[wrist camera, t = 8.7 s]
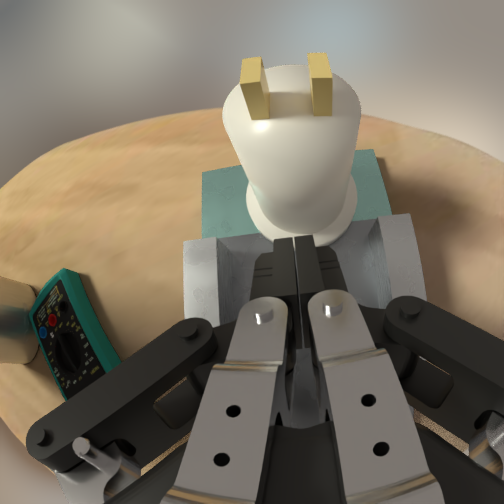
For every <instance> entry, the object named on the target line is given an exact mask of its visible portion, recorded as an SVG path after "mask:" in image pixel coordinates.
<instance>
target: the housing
mask: <svg viewBox="0 0 504 504" xmlns="http://www.w3.org/2000/svg"><path fill="white" fill-rule="evenodd" d="M351 175H352V177H353V179H354V182H355V185H356V189H357V206H356V210H355V213H354V216H353V219H352V221H351V224H350V225H349V227H348V229H347V230H346V231H345V232H344V234H343V235H342V236H341V237H340V238H339V239H337V240H336V241H335V242H333V243H332V244H330V245H328V246H329V247H330V248H332V249H333V250H334V251H335V252H336V255H337V258H338V261H339V264H340V268H341V270H342V273H343V276H344V279H345V283H346V286H347V289H348V292H349V293H350V294H351V295H352V296H353V297H354V298H355V299H356V301H357V303H358V304H360V305H363V306H366V307H370V308H380V309H386V306H387V305H388V303H389V302H390V301H391V300H392V299H394V298H397V297H400V296H415V297H418V298H421V299H423V300H425V301H427V297H426V290H425V283H424V277H423V271H422V265H421V260H420V255H419V250H418V245H417V241H416V236H415V232H414V228H413V223H412V219H411V216H410V213H407V214H397V215H392V212H391V208H390V204H389V200H388V196H387V193H386V189H385V185H384V182H383V179H382V175H381V172H380V169H379V166H378V162H377V159H376V156H375V153H374V150H373V149H368V150H355V153H354V159H353V164H352V169H351ZM248 183H249V180H248V178H247V176H246V173H245V171H244V169H243V167H242V165H238V166H233V167H227V168H222V169H217V170H212V171H207V172H202V239H197V240H190V241H184V245H183V272H184V316H185V319H188V318H193V317H198V318H203V319H206V320H208V321H209V322H210V323H211V325H212V327H216V326H220V325H223V324H227V323H229V322H232V321H234V320H236V319H238V316H239V312H240V310H241V309H242V307H243V306H244V305H245V304H246V303H248V302H249V300H250V293H251V286H252V279H253V272H254V265H255V261H256V259H257V258H258V257H259V256H260V255H261V253H268V252H273V243H272V242H270V241H269V240H267V239H266V238H265V237H264V236H263V235H262V234H261V233H260V232H259V230H258V229H257V227H256V226H255V224H254V222H253V220H252V218H251V216H250V214H249V211H248V208H247V203H246V193H247V187H248ZM294 253H295V261H296V251H294ZM296 269H297V262H296ZM297 278H298V273H297ZM298 289H299V284H298ZM299 302H300V296H299ZM300 316H301V331H302V347H303V349H296V364H295V368H296V371H295V384H294V396H293V407H292V428H298V429H304V428H308V427H312V426H315V425H318V424H320V416H319V409H318V402H317V396H316V390H315V384H314V378H313V372H312V360H311V348H305V347H304V336H303V325H302V315H301V305H300ZM420 358H422V357H421V356H420ZM422 359H423V360H426V359H424V358H422ZM408 406H409V409H410V411H411V414H412V417H413V414H414V408H413V407H412V406H410V405H409V404H408Z"/></svg>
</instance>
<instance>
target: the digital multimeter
mask: <svg viewBox="0 0 504 504" xmlns="http://www.w3.org/2000/svg"><path fill="white" fill-rule="evenodd" d="M67 294H68V295H67ZM69 299H70V300H69ZM76 315H77V316H76ZM29 317H30V320H31V323H32V326H33V329H34V331H35V334H36V337H37V339H38V342H39V344H40V347H41V349H42V352H43V354H44V356H45V359H46V361H47V363H48V365H49V368H50V370H51V372H52V374H53V376H54V379H55V381H56V383H57V385H58V387H59V389H60V391H61V393H62V395H63V397H64V399H65V401H67V400H69V399H70V398H72V397H73V396H74V395H76V394H77V393H79V392H80V391H82V390H83V389H85V388H86V387H87V386H89V385H90V384H92V383H93V382H95V381H96V380H97V379H99V378H100V377H102V376H103V375H105V374H106V373H108V372H109V371H110V370H112V369H113V368H115V367H116V366H117V365H119V364H120V363H122V362H121V360H120V359H119V357H118V355H117V354H116V352H115V350H114V348H113V347H112V345H111V343H110V342H109V340H108V338H107V336H106V335H105V333H104V331H103V329H102V327H101V325H100V323H99V321H98V319H97V317H96V315H95V313H94V311H93V308H92V306H91V304H90V302H89V300H88V298H87V295H86V293H85V290H84V288H83V285H82V282H81V280H80V277H79V274H78V273H77V272H74V271H71V270H68V269H65V268H63V269H61V270H60V271H59V272H58V273H56V274H55V275H54V276H53V277H52V278H51V279H50V280H49V281H48V282H47V283H46V284H45V286H44V287H43V288H42V290H41V291H40V293H39V295H38V296H37V298H36V300H35V302H34V304H33V306H32V308H31V310H30V313H29ZM77 317H78V318H77ZM82 328H83V329H82ZM83 330H84V331H83ZM84 332H85V333H84ZM85 334H86V335H85ZM86 336H87V337H86ZM87 338H88V339H87ZM88 340H89V341H88ZM89 342H90V343H89ZM90 344H91V345H90ZM91 346H92V347H91ZM96 355H97V356H96ZM97 357H98V358H97ZM98 359H99V360H98ZM102 366H103V367H102ZM103 368H104V369H103Z"/></svg>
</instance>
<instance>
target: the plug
mask: <svg viewBox="0 0 504 504" xmlns="http://www.w3.org/2000/svg"><path fill="white" fill-rule="evenodd" d="M360 118H361V106H360V102H359V99H358V96H357V95H356V93H355V91H354V90H353V89H352V87H351V86H350V85H349V84H347V82H346V81H344V80H343V79H342V78H340V77H339V76H337V75H335V74H333V73H331V69H330V65H329V61H328V57H327V54H326V53H308V65H281V66H275V67H271V68H267V69H264V66H263V62H262V58H261V57H254V58H246V59H243V60H242V68H241V77H240V83H239V84H238V85H237V86H236V87H235V88H234V89H233V90H232V91H231V93H230V94H229V96H228V98H227V99H226V101H225V104H224V108H223V123H224V126H225V129H226V131H227V133H228V135H229V138H230V140H231V142H232V144H233V146H234V149H235V151H236V153H237V155H238V158H239V160H240V162H241V164H242V167H243V169H244V171H245V173H246V176H247V178H248V180H249V183H248V187H247V193H246V203H247V208H248V211H249V214H250V216H251V218H252V220H253V222H254V224H255V226H256V227H257V229H258V230H259V232H260V233H261V234H262V235H263V236H264V237H265V238H266V239H267V240H269V241H270V242H272V243H274V239H279V238H287V237H292V238H293V245H294V251H295V241H294V237H295V236H304V235H312V234H313V238H314V242H315V247H318V246H327V245H330V244H332V243H333V242H335V241H336V240H337V239H339V238H340V237H341V236H342V235H343V234H344V232H345V231H346V230H347V229H348V227H349V225H350V224H351V221H352V219H353V216H354V213H355V210H356V206H357V189H356V185H355V182H354V179H353V177H352V175H351V169H352V164H353V159H354V153H355V148H356V142H357V136H358V130H359V124H360Z"/></svg>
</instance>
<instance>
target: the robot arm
mask: <svg viewBox="0 0 504 504" xmlns="http://www.w3.org/2000/svg"><path fill="white" fill-rule="evenodd" d="M294 241H295V251H296V261H295V253H294V245H293V238H292V237H287V238H279V239H274V243H273V252H268V253H261V255H260V256H259V257H258V258H257V259H256V261H255V265H254V272H253V279H252V286H251V293H250V300H249V302H248V303H246V304H245V305H244V306H243V307H242V309H241V310H240V312H239V316H238V319H236V320H234V321H232V322H229V323H227V324H223V325H220V326H216V327H212V325H211V323H210V322H209V321H208V320H206V319H203V318H198V317H193V318H188V319H185V320H182V321H180V322H178V323H177V324H175V325H174V326H172V327H171V328H170V329H168V330H167V331H165V332H164V333H163V334H161V335H160V336H158V337H157V338H156V339H154V340H153V341H151V342H150V343H149V344H147V345H146V346H144V347H143V348H142V349H140V350H139V351H137V352H136V353H134V354H133V355H132V356H130V357H129V358H127V359H126V360H125V361H123V362H122V363H120V364H119V365H117V366H116V367H115V368H113V369H112V370H110V371H109V372H108V373H106V374H105V375H103V376H102V377H100V378H99V379H97V380H96V381H95V382H93V383H92V384H90V385H89V386H87V387H86V388H85V389H83V390H82V391H80V392H79V393H77V394H76V395H74V396H73V397H72V398H70V399H69V400H67V401H66V402H64V403H63V404H61V405H60V406H58V407H57V408H55V409H54V410H53V411H51V412H50V413H48V414H47V415H45V416H44V417H42V418H41V419H39V420H38V421H36V422H35V423H34V424H33V425H32V426H31V427H30V429H29V431H28V433H27V437H26V447H27V450H28V452H29V454H30V455H31V456H32V457H34V458H35V459H37V460H38V461H39V462H41V463H42V464H44V465H46V466H47V467H49V468H50V469H51V470H52V471H53V472H54V473H55V475H56V477H57V480H58V482H59V484H60V486H61V488H62V491H63V492H64V494H65V497H66V499H67V500H68V503H69V504H504V341H502V340H501V339H499V338H497V337H495V336H493V335H491V334H489V333H487V332H486V331H484V330H482V329H480V328H478V327H476V326H474V325H472V324H470V323H468V322H466V321H464V320H462V319H461V318H459V317H457V316H455V315H453V314H451V313H449V312H447V311H445V310H443V309H441V308H439V307H437V306H435V305H433V304H431V303H429V302H427V301H425V300H423V299H421V298H418V297H415V296H400V297H397V298H394V299H392V300H391V301H390V302H389V303H388V305H387V306H386V309H380V308H370V307H366V306H363V305H360V304H358V303H357V301H356V299H355V298H354V297H353V296H352V295H351V294H350V293H349V292H348V289H347V286H346V283H345V279H344V276H343V273H342V270H341V268H340V264H339V261H338V258H337V255H336V252H335V251H334V250H333V249H332V248H330V247H329V246H328V245H327V246H318V247H315V242H314V238H313V234H312V235H304V236H295V237H294ZM296 262H297V269H296ZM297 273H298V278H297ZM298 284H299V289H298ZM299 296H300V302H299ZM35 300H36V296H35V293H34V291H33V290H32V288H31V287H30V286H29V285H27V284H25V283H21V282H18V281H14V280H11V279H7V278H4V277H1V276H0V363H12V364H26V363H29V362H30V361H32V359H33V358H34V356H35V354H36V352H37V349H38V345H39V342H38V339H37V337H36V334H35V331H34V329H33V326H32V323H31V320H30V317H29V313H30V310H31V308H32V306H33V304H34V302H35ZM300 305H301V315H302V325H303V336H304V347H305V348H311V360H312V372H313V378H314V384H315V390H316V396H317V402H318V409H319V416H320V424H318V425H315V426H312V427H308V428H304V429H298V428H292V407H293V396H294V384H295V371H296V368H295V364H296V349H303V347H302V331H301V316H300ZM420 356H421V357H422V358H424V359H426V360H427V361H429V362H431V363H432V364H434V365H436V366H437V367H439V368H441V369H442V370H444V371H446V372H447V373H449V374H450V375H451V376H450V375H448V374H446V373H445V372H443V371H441V370H440V369H438V368H436V367H435V366H433V365H431V364H430V363H428V362H427V361H425V360H423V359H422V358H420ZM185 376H186V377H187V379H186V380H185V381H184V382H183V383H181V384H180V385H179V386H178V387H176V388H175V389H174V390H172V391H171V392H170V393H169V394H167V395H166V396H165V397H163V398H162V399H161V400H159V401H158V402H156V403H154V402H155V400H156V399H157V398H158V397H160V396H161V395H162V394H164V393H165V392H166V391H167V390H169V389H170V388H171V387H173V386H174V385H175V384H176V383H178V382H179V381H180V380H182V379H183V378H184V377H185ZM408 404H409V405H410V406H412V407H413V408H415V409H416V410H417V411H419V412H420V413H422V414H423V415H425V416H426V417H428V418H429V419H431V420H432V421H434V422H435V423H437V424H438V425H440V426H442V427H443V428H445V429H446V430H448V431H449V432H451V433H452V434H454V435H455V436H457V437H458V438H460V439H462V440H463V441H465V442H466V443H468V444H469V456H467V455H465V454H464V453H462V452H461V451H460V450H458V449H457V448H455V447H454V446H453V445H451V444H450V443H448V442H447V441H446V440H444V439H443V438H441V437H440V436H439V435H437V434H436V433H434V432H433V431H432V430H430V429H429V428H427V427H425V426H423V425H421V424H419V423H416V422H414V420H413V417H412V414H411V411H410V409H409V406H408ZM191 430H192V431H191ZM190 431H191V434H190V437H189V440H188V441H187V442H185V443H184V444H182V445H181V446H179V447H178V448H176V449H175V450H174V451H173V452H172V453H170V454H169V455H168V456H167V457H165V458H164V459H163V460H162V461H160V462H159V463H158V464H157V465H155V466H154V467H153V468H152V469H150V470H149V471H148V472H146V473H145V474H144V475H142V476H141V469H142V468H143V467H144V466H146V465H147V464H149V463H150V462H151V461H153V460H154V459H155V458H157V457H158V456H159V455H161V454H162V453H163V452H165V451H166V450H167V449H169V448H170V447H171V446H173V445H174V444H175V443H176V442H178V441H179V440H180V439H182V438H183V437H184V436H185V435H187V434H188V433H189V432H190Z"/></svg>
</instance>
